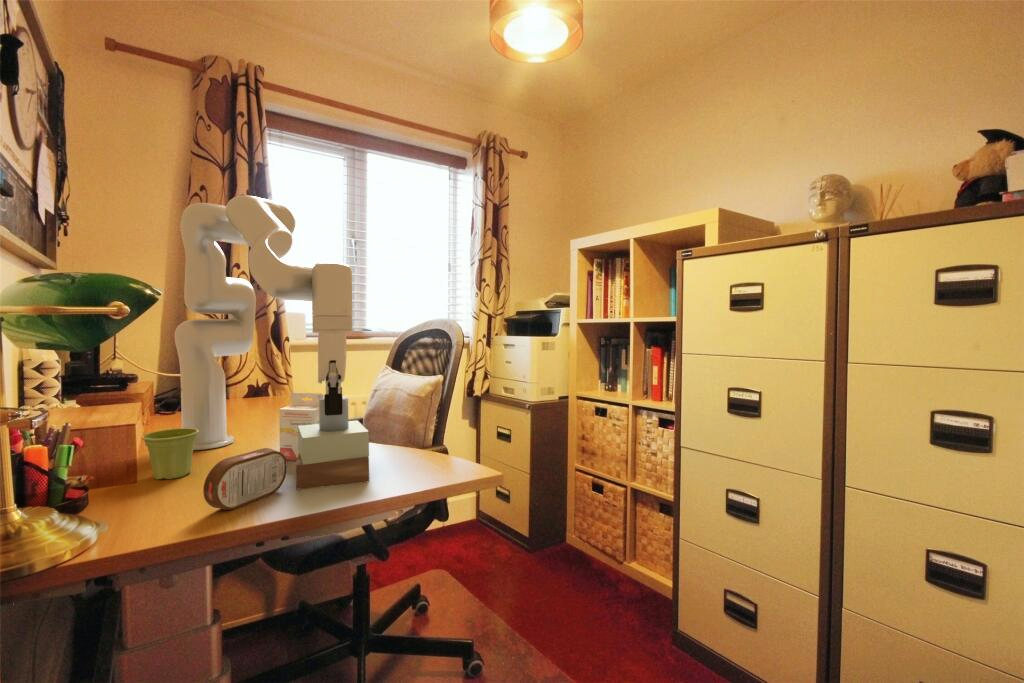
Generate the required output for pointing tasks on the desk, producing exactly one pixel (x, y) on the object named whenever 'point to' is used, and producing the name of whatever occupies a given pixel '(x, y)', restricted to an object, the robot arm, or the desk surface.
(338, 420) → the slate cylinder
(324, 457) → the sage top block
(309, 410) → the ink cartridge box
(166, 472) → the plant pot
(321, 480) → the walnut base block
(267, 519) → the desk surface
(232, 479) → the tin
